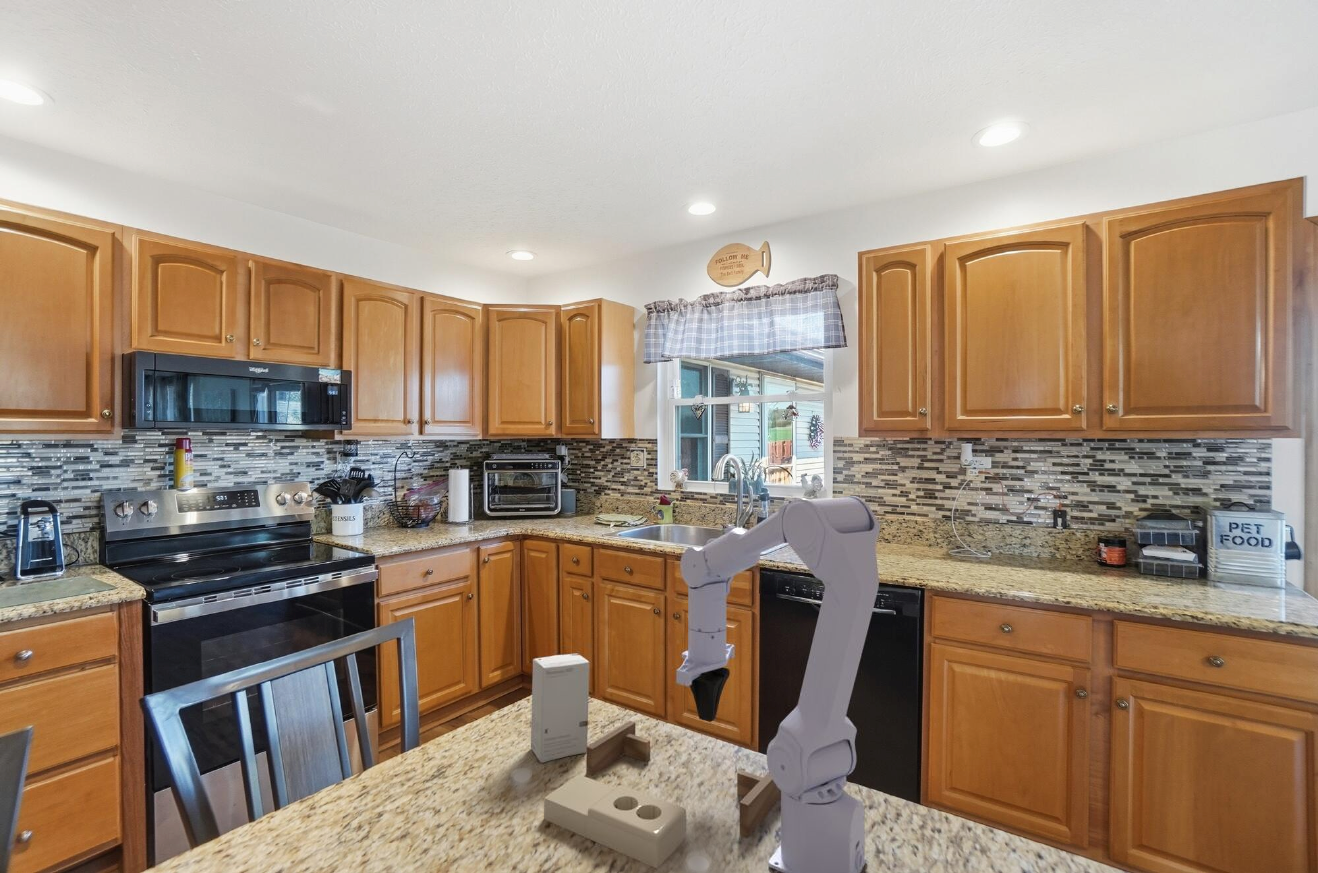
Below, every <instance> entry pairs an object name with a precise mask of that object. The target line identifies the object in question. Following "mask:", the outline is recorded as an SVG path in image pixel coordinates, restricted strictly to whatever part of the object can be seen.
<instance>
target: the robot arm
mask: <svg viewBox="0 0 1318 873" xmlns="http://www.w3.org/2000/svg"><path fill="white" fill-rule="evenodd" d="M880 531H881V524H880V522H879V520H878V519H877V517H876V515H875V514H874V512H873V511H872V509H871V507H870V506H869V504H868V503H867V502H866V501H865V500H864V499H862V498H861V497H859V496H855V495H847V496H843V497H830V498H828V497H827V498H826V497H825V498H811V499H808V498H804V497H803V498H796V499H794V500H792V501H791V502H790V503H786V504H785V503H784V504H782V505H781V506H779V509H778V510H777V511H775V512H774V513H772V514H771V515H769V516H768V517H767V518H764V520H762V521H760V522H759V523H757V524H756V525H754V526H753V527H751V528H749V529H746V528H744V527H737V526H727V527H726V528H724V529H723V532H724V534H723V535H720V536H719V537H717V538H709V539H708V540H707V541H706V544H705V545H704V546H703V547H702V546H701V547H695V546H689V547H687V549H686V550H685V551H684V552H683V553H682V555H681V557H680V564H679V566H680V567H679V568H680V573H681V578H682V580H683V581H684V583H685V584H686V585H687V586H688V587H687V588H688V590H687V591H688V592H687V594H688V595H687V596H688V597H687V598H688V600H687V603H688V605H687V606H688V607H687V608H688V609H687V610H688V611H687V613H688V614H687V618H688V619H687V623H688V624H687V625H688V626H687V628H688V629H687V630H688V632H687V638H688V640H687V641H688V642H687V645H688V647H687V648H688V650H685V651H684V652H682V653H681V658H682V659H684V661H682V662H683V663H682V664H681V666H680V667H679V668H678V669H676V673H675V674H676V676H675V677H676V679H675V680H676V684H677V685H681V686H685V687H689V688H690V691H691V693H692V695H693V699H694V703H695V707H696V711H697V716H698V719H699V720H702V721H705V722H709V723H712V722H713V721H715V719H716V718H717V713H718V709H719V704H720V701H721V700H720V699H721V696H722V693H723V690H724V687H725V685H726V683H727V681H728V678H730V675H731V674H730V673H731V672H730V671H731V670H730V669H729V668H726V666H727V665H728V663H729V660H733V659H734V658H735V650H736V649H735V645H734V644H732V643H731V644H730V643H727V596H728V595H729V594H730V592H731V582H732V581H733V579H734V577H735V576H736V575H738V574H740V573H742V572H744V571H746V570H748V569H750V568H752V567H755V566H756V565H757V564H758V563H759V560H760V558H761V553H763V552H766V551H769V550H770V549H773V548H776V547H778V546H780V545H782V544H788V545H789V547H790V548H791V549H792V550H793V552H794V553H795V554H796V555H797V557H798V558H799V559H800V560H801V561H802V563H803V564H804V565H805V566H806V568H807V569H808V571H809V572H810V573H811V574H812V575H813V576H814V578H816V579H818V580H819V581H821V582H822V584H823V586H824V590H823V595H822V600H821V604H820V608H819V614H818V617H817V622H816V626H815V630H814V634H813V637H812V643H811V647H810V651H809V656H808V660H807V664H806V669H805V672H804V677H803V681H802V686H801V689H800V693H799V694H800V695H799V698H798V701H797V705H796V706H795V708H793V710H792V711H791V712H789V713H788V715H787V716H786V717H785V718H784V719H783V720H782V721H781V722H780V724H778V725H779V726H778V730H777V733H776V735H775V736H774V737H773V739H771V741H770V742H769V743H768V745H767V749H766V765H767V770H768V772H769V773H770V775H771V777H772V779H773V781H774V782H775V784H776V785H777V788H779V789H780V790H781V799H780V844H779V846H778V848H777V849H776V850H775V851H774V853H773V855H772V856H770V858H769V860H768V862H767V863H768V864H767V865H768V866H769V867H770V868H772V869H774V870H777V871H779V872H781V873H861V872H862V871H863V869H864V866H865V865H866V863H867V856H866V855H865V851H866V848H865V847H866V846H865V844H866V843H865V841H866V840H865V839H866V838H865V834H866V833H865V832H866V830H865V829H866V828H865V821H866V819H865V816H866V815H865V807H864V803H863V801H862V800H860V799H858V798H856V797H854V796H852V795H851V794H849V793H848V792H847V791H846V790H844V788H846V787H847V776H849V775H850V774H852V772H854V770H855V768H856V765H857V752H856V746H855V745H856V743H855V741H856V736H857V731H858V730H857V727H856V726H855V725H854V723H853V722H852V721H851V720H850V718H849V717H848V716H847V713H848V708H849V706H850V705H849V704H850V700H851V697H852V693H853V690H854V684H855V681H856V678H857V673H858V670H859V667H860V666H859V665H860V661H861V658H862V653H863V649H864V646H865V642H866V639H867V635H868V630H869V626H870V622H871V619H872V615H873V611H874V608H875V607H874V606H875V604H876V603H875V602H876V600H877V599H876V598H877V595H878V591H879V585H880V577H879V569H878V559H877V558H878V557H877V551H876V550H877V549H876V547H877V543H878V540H879V535H880Z"/></svg>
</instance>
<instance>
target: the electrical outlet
mask: <svg viewBox="0 0 1318 873" xmlns="http://www.w3.org/2000/svg"><path fill="white" fill-rule="evenodd" d="M543 800H544V802H543V819H544V820H545V821H548V822H550V823H551V824H555V825H557V826H559V827H561V828H564V829H565V830H568V831H570V832H573V833H575V834H577V835H580V836H582V837H584V838H586V839H588V840H590V841H593V842H596V843H598V844H600V845H602V846H605V847H606V848H610V849H611V850H614V851H616V852H618V853H620V854H623V855H625V856H626V857H627V856H628V857H629V858H632V859H634V860H636V861H639V862H641V863H643V864H646V865H648V866H650V867H652V868H655V869H658V868H659V867H660V866H661V865H663V863H664V862H665V861H666V860H667V859H668V858H669V857H670V856H671V854H672V853H673V852H674V851H675V850H676V849H677V848H678V847H679V846H680V845H681V843H683V842H684V841H685V840H686V838H687V810H686V808H685V807H683V806H680V805H677V804H675V803H674V802H670V801H668V800H667V801H666V800H665V799H661V798H659V797H656V796H653V795H650V794H647V793H645V792H643V791H640V790H637V789H634V788H632V787H628V786H626V785H623V784H619V785H617V786H616V787H613V786H611V785H608V784H606V783H604V782H601V781H597V780H595V779H593V778H590V777H587V776H584V775H582V774H577V775H576V776H574V777H573V778H571V779H570V780H568V781H567V782H565V783H564V784H563V785H561V786H560V787H558V788H556V789H555V790H553V791H552V792H550V793H549V794H548V795H546V796H545V797H544V798H543Z"/></svg>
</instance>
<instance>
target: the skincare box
mask: <svg viewBox="0 0 1318 873" xmlns="http://www.w3.org/2000/svg"><path fill="white" fill-rule="evenodd" d="M531 681H532V684H531V687H532V688H531V718H530V719H531V720H530V721H531V722H530V723H531V724H530V725H531V726H530V727H531V728H530V749H531V750H532V752H533V753H534V754H535V756H536V759H537V760H538V761H539V763H541V764H542V763H547V762H550V761H553V760H557V759H561V758H565V757H569V756H574V755H581V754H585V753H586V754H587V746H588V735H589V734H588V733H589V732H588V729H589V727H588V726H589V695H590V694H589V692H590V691H589V690H590V661H589V660H587V659H586V658H585V657H584V656H582V655H581V654H579V653H570V654H569V653H568V654H557V655H556V654H555V655H551V656H544V657H537V658H532V680H531Z"/></svg>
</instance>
